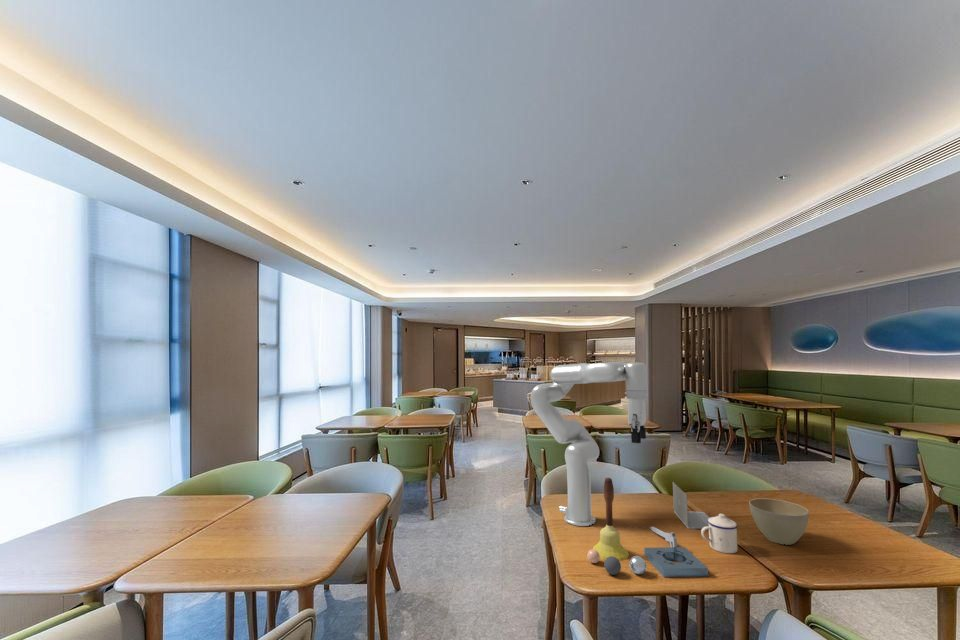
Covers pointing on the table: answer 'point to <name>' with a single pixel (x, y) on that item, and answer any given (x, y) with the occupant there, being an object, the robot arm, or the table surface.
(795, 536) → the grey beige bowl
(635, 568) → the steel ball
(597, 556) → the pink ball
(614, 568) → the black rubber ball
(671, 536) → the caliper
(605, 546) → the handbell
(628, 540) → the table surface
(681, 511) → the laptop
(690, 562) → the housing plate
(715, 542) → the teacup with lid
